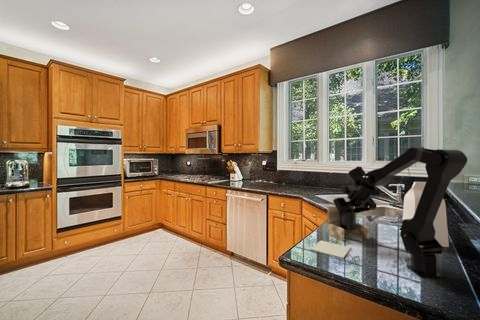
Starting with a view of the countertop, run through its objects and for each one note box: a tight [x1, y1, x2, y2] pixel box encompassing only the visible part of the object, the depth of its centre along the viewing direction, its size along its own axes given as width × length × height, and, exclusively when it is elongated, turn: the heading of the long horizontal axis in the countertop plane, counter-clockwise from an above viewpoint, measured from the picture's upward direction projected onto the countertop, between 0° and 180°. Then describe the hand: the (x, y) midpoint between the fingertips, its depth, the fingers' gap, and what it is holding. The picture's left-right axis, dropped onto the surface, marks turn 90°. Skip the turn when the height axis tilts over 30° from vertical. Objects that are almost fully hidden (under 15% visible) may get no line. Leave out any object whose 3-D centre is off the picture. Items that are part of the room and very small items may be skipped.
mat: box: [310, 240, 352, 260], centre depth 84 cm, size 12×12×1 cm
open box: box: [326, 205, 370, 241], centre depth 100 cm, size 11×14×13 cm
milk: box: [402, 181, 450, 248], centre depth 94 cm, size 12×12×26 cm
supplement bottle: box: [340, 207, 357, 230], centre depth 100 cm, size 7×7×12 cm
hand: (346, 213), depth 101 cm, fingers closed on supplement bottle, 7 cm apart
